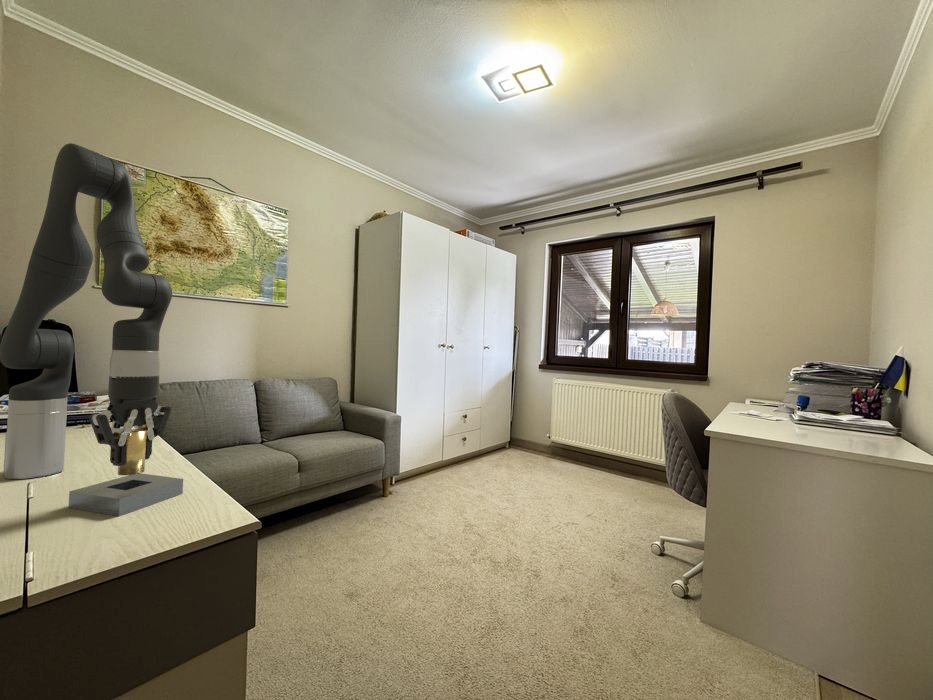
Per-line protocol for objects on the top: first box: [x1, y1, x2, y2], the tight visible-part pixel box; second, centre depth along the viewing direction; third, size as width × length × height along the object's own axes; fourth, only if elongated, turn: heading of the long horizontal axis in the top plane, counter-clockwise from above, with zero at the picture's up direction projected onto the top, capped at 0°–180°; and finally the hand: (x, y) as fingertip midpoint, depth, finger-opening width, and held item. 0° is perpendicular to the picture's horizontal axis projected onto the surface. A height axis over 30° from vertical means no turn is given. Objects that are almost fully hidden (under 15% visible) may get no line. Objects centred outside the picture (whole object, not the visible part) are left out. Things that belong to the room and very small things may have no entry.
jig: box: [68, 472, 184, 517], centre depth 76 cm, size 12×12×3 cm
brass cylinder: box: [117, 428, 147, 476], centre depth 77 cm, size 4×4×8 cm
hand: (131, 461), depth 76 cm, fingers closed on brass cylinder, 4 cm apart
